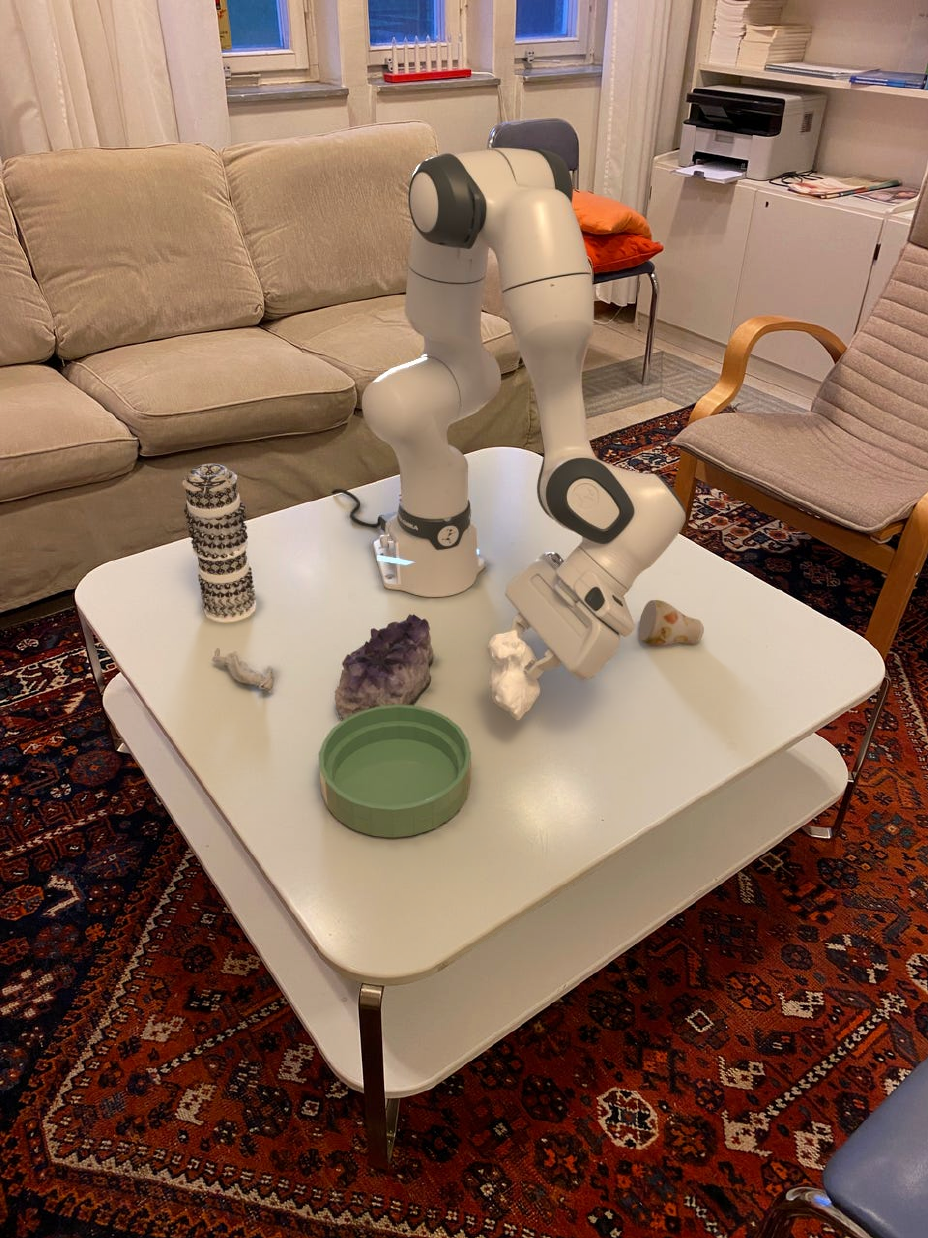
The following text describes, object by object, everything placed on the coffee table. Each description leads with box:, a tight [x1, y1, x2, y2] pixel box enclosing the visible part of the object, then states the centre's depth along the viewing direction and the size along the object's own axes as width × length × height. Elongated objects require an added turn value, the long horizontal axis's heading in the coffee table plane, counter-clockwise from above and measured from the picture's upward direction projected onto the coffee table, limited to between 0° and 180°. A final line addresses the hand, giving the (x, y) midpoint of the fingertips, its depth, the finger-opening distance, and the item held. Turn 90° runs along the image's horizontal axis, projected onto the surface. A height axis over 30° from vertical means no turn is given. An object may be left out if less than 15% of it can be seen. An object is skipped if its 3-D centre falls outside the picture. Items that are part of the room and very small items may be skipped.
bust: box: [486, 630, 541, 721], centre depth 127 cm, size 12×8×11 cm
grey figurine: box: [211, 647, 275, 693], centre depth 140 cm, size 8×5×12 cm
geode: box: [334, 613, 435, 721], centre depth 137 cm, size 20×12×10 cm, turn 160°
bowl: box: [318, 704, 472, 838], centre depth 122 cm, size 19×19×6 cm
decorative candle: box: [181, 463, 257, 624], centre depth 150 cm, size 9×9×25 cm
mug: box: [638, 599, 705, 646], centre depth 149 cm, size 8×10×10 cm
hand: (518, 660), depth 127 cm, fingers closed on bust, 5 cm apart
